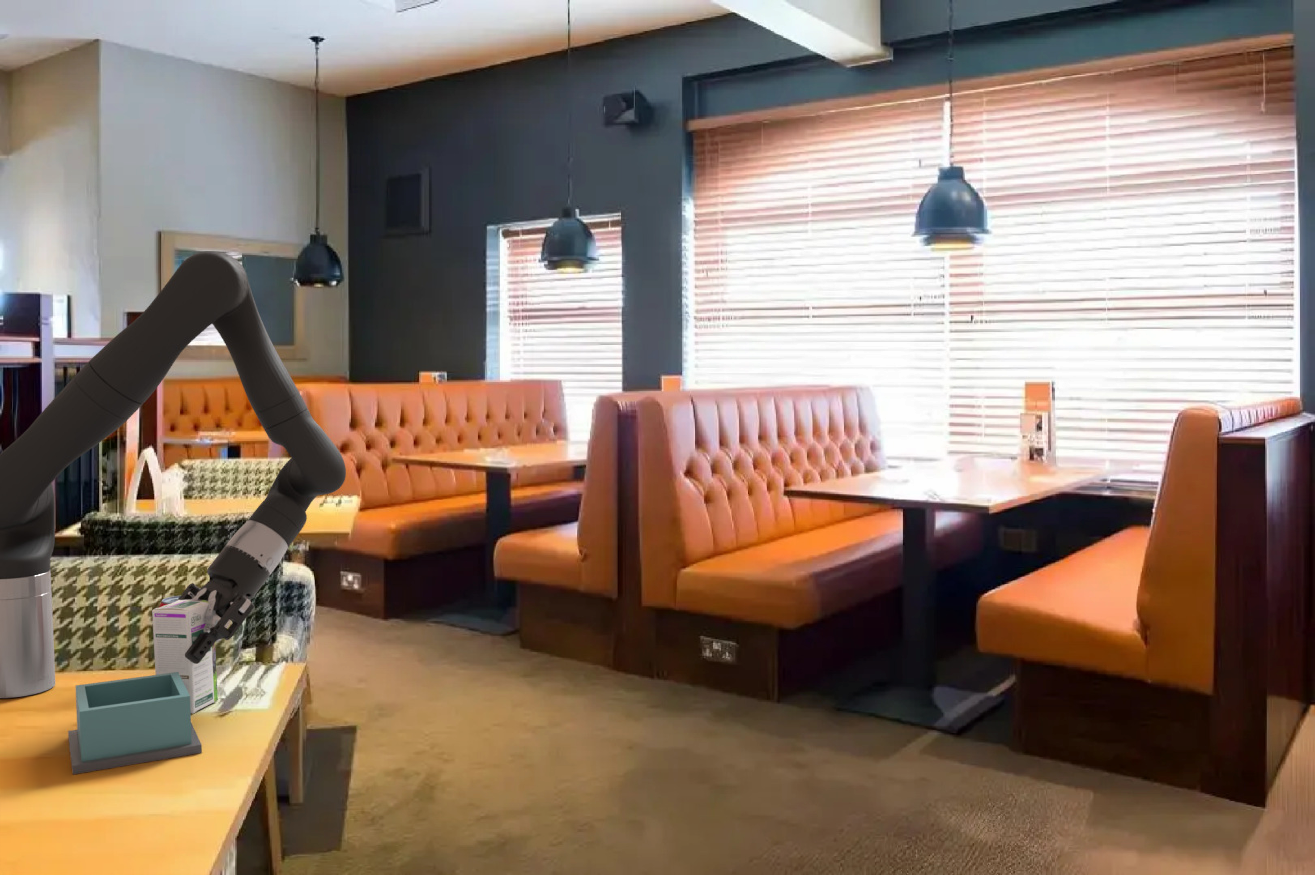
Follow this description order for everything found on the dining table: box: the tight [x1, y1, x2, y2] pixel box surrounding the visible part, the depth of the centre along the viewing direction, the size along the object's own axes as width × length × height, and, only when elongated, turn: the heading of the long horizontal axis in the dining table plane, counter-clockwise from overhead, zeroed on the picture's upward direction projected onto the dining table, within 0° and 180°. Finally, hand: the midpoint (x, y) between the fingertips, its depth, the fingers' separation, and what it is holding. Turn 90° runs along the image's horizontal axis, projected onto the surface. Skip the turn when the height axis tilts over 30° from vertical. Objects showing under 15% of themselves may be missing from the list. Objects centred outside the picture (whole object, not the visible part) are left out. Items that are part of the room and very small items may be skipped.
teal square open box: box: [67, 672, 203, 775], centre depth 137 cm, size 14×14×7 cm
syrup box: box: [151, 600, 219, 714], centre depth 152 cm, size 6×6×14 cm
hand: (175, 655), depth 151 cm, fingers closed on syrup box, 7 cm apart
